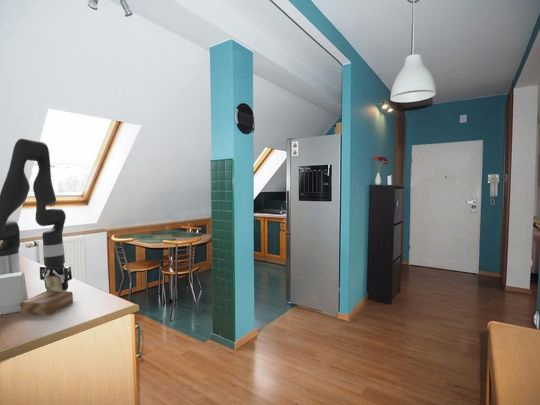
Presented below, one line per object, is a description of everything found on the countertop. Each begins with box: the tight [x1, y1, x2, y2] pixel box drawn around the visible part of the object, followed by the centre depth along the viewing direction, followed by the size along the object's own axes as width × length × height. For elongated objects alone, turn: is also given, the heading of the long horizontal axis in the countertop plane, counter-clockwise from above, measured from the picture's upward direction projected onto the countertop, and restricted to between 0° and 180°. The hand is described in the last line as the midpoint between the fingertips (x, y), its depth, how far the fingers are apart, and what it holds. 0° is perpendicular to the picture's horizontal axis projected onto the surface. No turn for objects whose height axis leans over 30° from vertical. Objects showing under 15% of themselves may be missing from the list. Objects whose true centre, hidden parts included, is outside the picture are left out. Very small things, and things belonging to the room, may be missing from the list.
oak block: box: [45, 274, 68, 292], centre depth 132 cm, size 5×5×10 cm
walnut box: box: [20, 290, 74, 317], centre depth 120 cm, size 12×12×5 cm
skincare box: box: [0, 271, 29, 316], centre depth 118 cm, size 8×6×15 cm
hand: (56, 289), depth 132 cm, fingers open, 8 cm apart
